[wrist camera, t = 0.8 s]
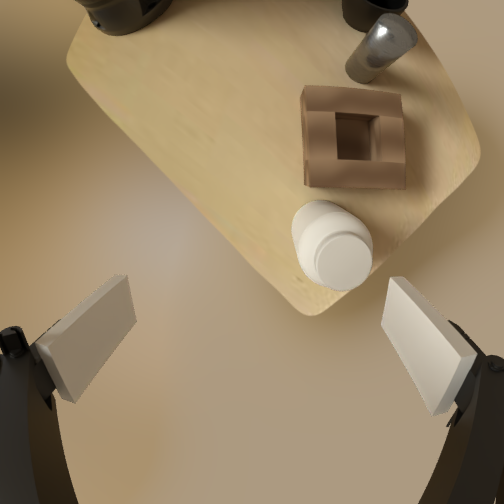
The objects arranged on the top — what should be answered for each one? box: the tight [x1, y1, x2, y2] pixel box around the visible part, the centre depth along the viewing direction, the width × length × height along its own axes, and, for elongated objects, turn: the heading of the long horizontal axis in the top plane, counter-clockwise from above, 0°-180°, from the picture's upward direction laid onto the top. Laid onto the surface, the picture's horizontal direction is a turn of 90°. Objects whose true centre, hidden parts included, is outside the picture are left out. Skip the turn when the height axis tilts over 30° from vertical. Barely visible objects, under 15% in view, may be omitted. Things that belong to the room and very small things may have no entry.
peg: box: [345, 13, 418, 84], centre depth 24 cm, size 4×4×14 cm
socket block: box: [300, 85, 406, 190], centre depth 31 cm, size 12×12×6 cm
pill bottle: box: [291, 200, 373, 291], centre depth 30 cm, size 8×8×15 cm
